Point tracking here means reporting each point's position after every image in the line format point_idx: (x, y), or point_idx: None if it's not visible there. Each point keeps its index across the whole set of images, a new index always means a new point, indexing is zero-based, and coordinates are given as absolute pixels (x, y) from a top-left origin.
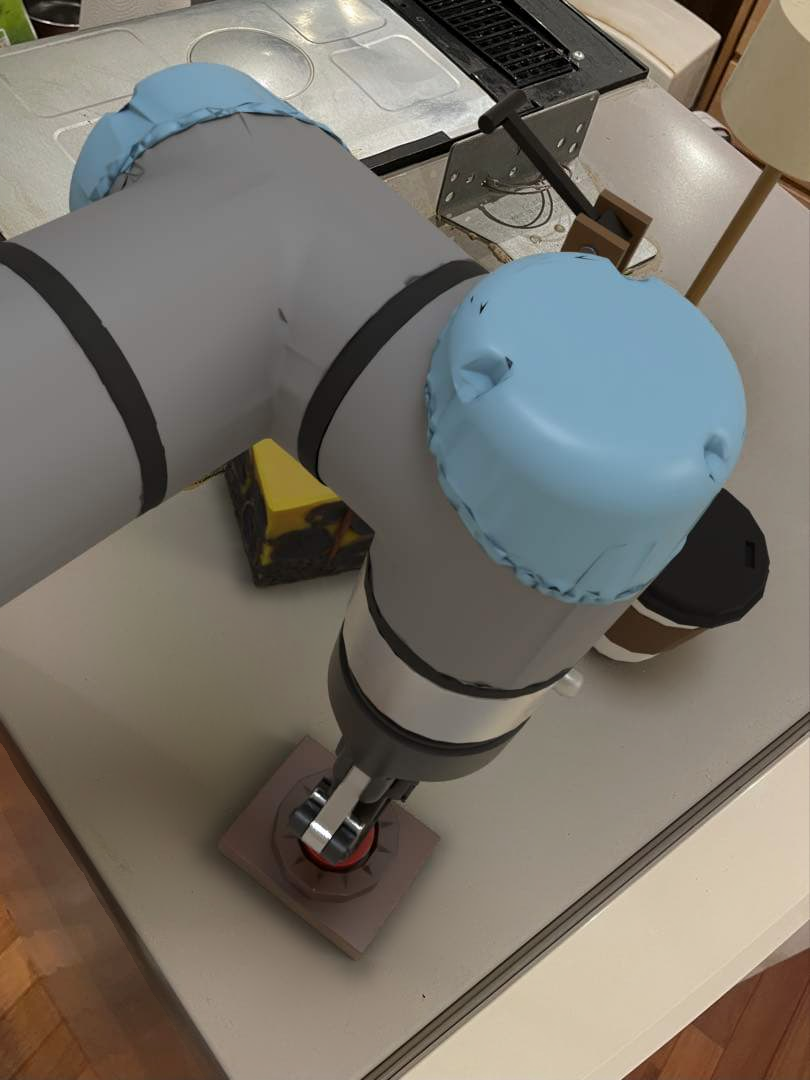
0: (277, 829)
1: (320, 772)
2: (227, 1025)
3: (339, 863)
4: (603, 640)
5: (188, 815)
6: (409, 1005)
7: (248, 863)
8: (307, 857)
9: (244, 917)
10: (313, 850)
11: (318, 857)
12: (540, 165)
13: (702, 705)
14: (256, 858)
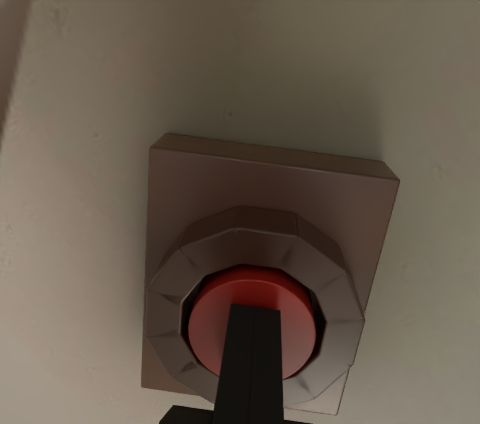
0: (195, 245)
1: (330, 262)
2: (3, 260)
3: (200, 358)
4: None
5: (183, 60)
6: (151, 413)
7: (147, 207)
8: (198, 289)
9: (113, 216)
10: (195, 316)
11: (189, 329)
12: None
13: None
14: (160, 214)
